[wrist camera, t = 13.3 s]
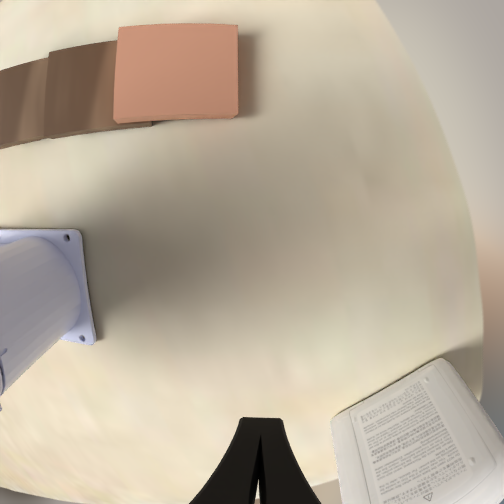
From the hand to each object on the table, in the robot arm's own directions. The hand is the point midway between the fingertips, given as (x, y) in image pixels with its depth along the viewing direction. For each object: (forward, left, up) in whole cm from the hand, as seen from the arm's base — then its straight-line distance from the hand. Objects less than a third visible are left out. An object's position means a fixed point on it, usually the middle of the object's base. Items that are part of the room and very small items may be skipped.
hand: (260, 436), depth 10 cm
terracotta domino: (-2, +14, -9) cm, 16 cm away
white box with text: (+10, -7, -10) cm, 15 cm away
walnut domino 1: (-12, +13, -9) cm, 20 cm away
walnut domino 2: (-6, +13, -9) cm, 17 cm away
